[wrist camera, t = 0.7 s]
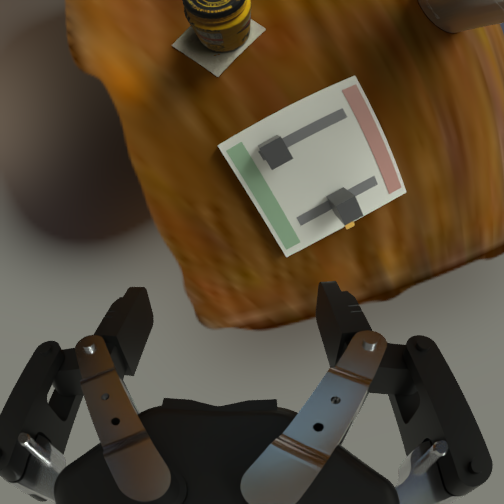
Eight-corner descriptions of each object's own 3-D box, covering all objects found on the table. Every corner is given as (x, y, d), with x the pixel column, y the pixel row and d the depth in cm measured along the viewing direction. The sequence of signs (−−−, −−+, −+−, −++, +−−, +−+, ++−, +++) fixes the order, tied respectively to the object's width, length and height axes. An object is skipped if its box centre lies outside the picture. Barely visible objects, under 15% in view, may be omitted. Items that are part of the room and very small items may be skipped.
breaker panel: (349, 77, 28) (355, 75, 26) (400, 191, 34) (407, 195, 32) (219, 144, 32) (217, 145, 30) (286, 253, 38) (288, 260, 36)
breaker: (276, 134, 29) (280, 136, 26) (287, 154, 30) (293, 158, 27) (257, 145, 30) (259, 148, 26) (269, 164, 31) (271, 170, 27)
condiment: (265, 29, 26) (274, -13, 15) (218, 77, 28) (202, 53, 17) (219, -1, 23) (207, -49, 13) (172, 46, 26) (137, 14, 15)
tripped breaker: (343, 187, 32) (354, 195, 28) (351, 205, 33) (363, 215, 29) (325, 196, 32) (335, 206, 29) (334, 214, 33) (344, 225, 30)
